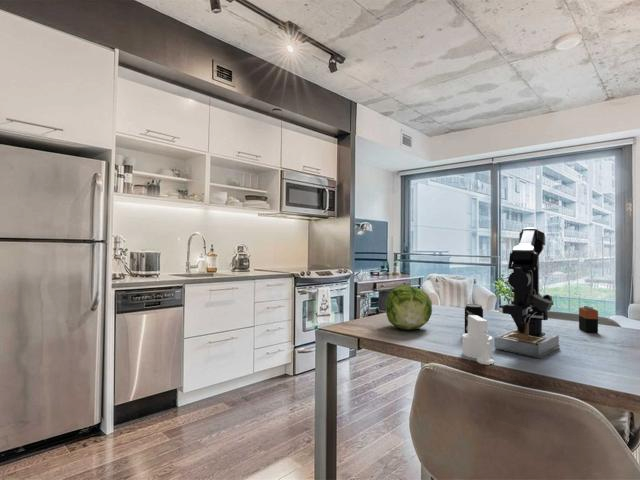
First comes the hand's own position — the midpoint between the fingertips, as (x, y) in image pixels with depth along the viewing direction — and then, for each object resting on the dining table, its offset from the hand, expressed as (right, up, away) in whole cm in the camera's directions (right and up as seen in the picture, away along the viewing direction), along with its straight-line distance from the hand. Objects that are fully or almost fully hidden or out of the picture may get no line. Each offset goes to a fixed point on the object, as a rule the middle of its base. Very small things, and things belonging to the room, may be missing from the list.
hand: (523, 332), depth 126 cm
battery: (+41, -6, +27) cm, 50 cm away
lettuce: (-31, -6, +30) cm, 44 cm away
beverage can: (-9, -6, +19) cm, 22 cm away
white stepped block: (-17, -6, -5) cm, 19 cm away
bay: (+3, -6, +3) cm, 7 cm away
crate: (0, -5, 0) cm, 5 cm away
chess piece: (-18, -6, -12) cm, 22 cm away
